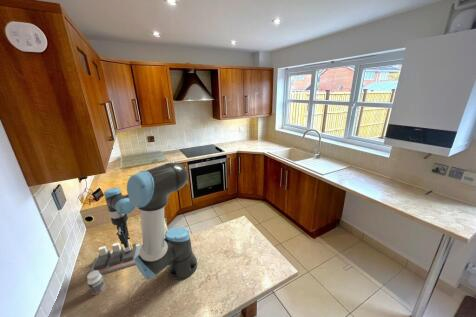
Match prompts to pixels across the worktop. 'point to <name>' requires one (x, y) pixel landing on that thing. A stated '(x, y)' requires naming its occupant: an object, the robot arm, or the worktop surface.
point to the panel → (115, 258)
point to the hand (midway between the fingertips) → (128, 250)
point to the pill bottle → (95, 282)
